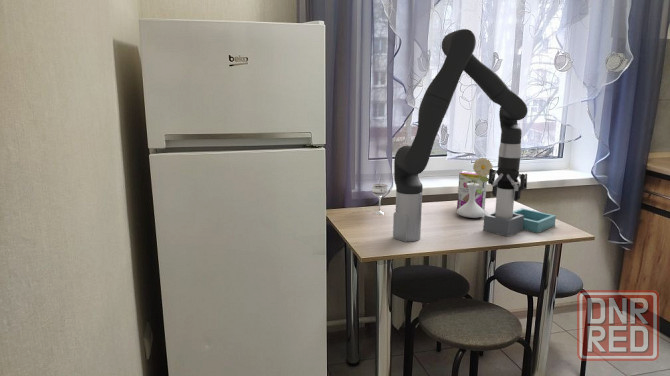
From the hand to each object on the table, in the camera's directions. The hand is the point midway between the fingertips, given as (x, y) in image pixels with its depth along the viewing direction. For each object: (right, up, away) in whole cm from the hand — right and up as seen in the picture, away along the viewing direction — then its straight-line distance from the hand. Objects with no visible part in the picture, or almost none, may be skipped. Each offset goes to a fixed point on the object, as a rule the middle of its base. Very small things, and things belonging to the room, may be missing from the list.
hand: (505, 198), depth 175 cm
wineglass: (-45, -7, +26) cm, 52 cm away
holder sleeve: (0, -12, +3) cm, 13 cm away
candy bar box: (-4, -6, +32) cm, 32 cm away
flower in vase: (-6, -8, +21) cm, 23 cm away
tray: (+13, -11, +9) cm, 19 cm away
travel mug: (0, -13, +3) cm, 13 cm away
